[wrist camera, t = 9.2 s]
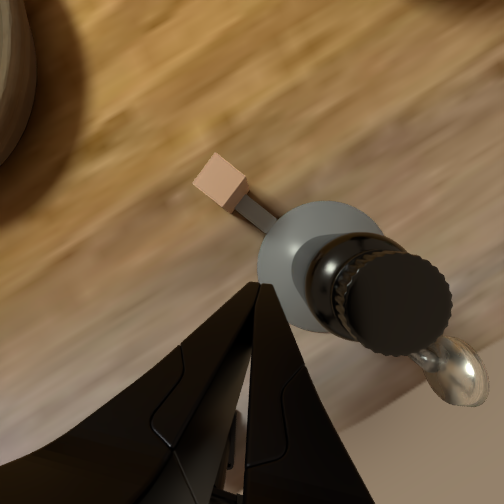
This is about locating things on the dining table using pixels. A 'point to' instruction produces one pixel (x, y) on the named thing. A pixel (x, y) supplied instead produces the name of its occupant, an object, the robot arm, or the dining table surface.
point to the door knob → (454, 371)
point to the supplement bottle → (372, 292)
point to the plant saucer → (15, 74)
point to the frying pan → (281, 232)
